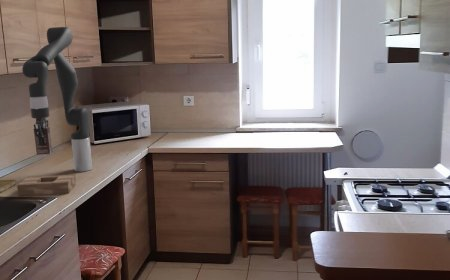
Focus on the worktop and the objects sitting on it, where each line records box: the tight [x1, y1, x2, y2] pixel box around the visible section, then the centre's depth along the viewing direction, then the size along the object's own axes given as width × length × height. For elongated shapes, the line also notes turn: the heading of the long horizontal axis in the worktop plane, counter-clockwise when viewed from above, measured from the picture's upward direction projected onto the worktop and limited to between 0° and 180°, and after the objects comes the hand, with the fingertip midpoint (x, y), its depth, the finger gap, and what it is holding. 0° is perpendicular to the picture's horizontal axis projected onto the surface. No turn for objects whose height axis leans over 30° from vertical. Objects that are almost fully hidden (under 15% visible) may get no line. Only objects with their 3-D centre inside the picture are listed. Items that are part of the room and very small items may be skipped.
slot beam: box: [16, 174, 77, 197], centre depth 220 cm, size 14×22×5 cm, turn 94°
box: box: [33, 126, 53, 156], centre depth 216 cm, size 6×4×12 cm
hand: (43, 144), depth 217 cm, fingers closed on box, 4 cm apart
